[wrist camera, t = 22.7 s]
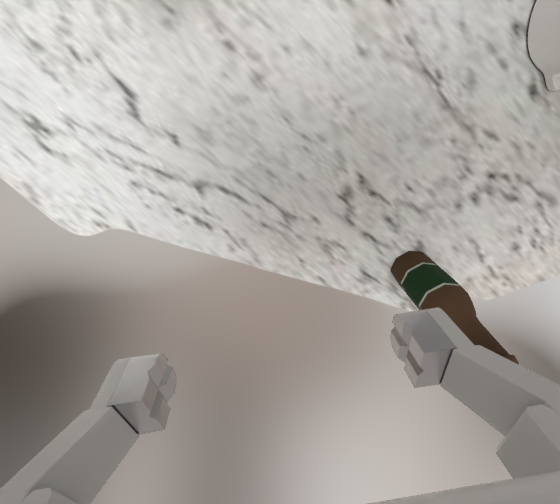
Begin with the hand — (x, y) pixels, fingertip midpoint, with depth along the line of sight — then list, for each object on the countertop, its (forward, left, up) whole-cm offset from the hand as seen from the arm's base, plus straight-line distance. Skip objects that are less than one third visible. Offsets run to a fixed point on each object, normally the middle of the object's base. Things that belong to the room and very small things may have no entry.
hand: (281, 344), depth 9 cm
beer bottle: (-27, +26, -35) cm, 51 cm away
